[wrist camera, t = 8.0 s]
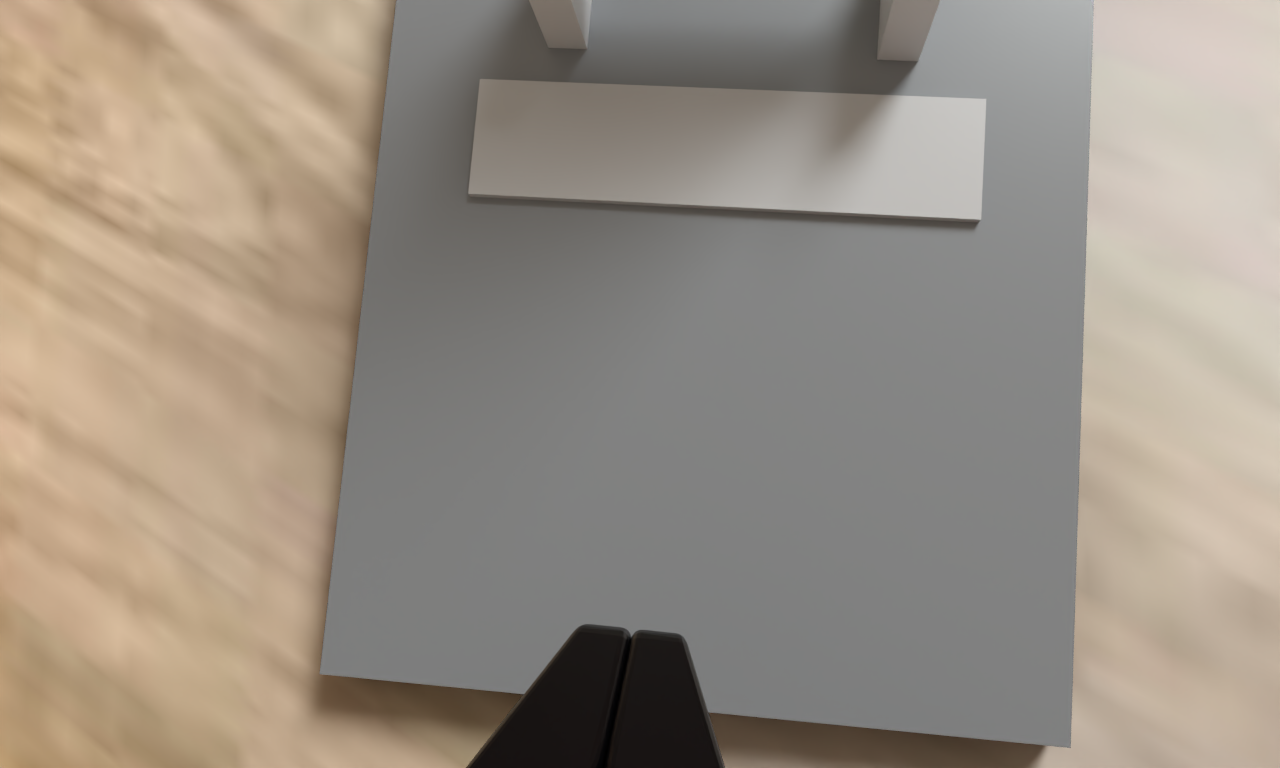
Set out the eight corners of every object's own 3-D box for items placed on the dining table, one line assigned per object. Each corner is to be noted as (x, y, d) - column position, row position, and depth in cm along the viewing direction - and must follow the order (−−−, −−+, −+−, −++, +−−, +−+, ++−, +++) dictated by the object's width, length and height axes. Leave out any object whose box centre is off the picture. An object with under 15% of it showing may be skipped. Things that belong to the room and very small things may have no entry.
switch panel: (1052, 735, 21) (1130, 787, 17) (342, 667, 23) (245, 698, 18) (1081, -145, 23) (1157, -300, 19) (433, -157, 25) (367, -302, 21)
